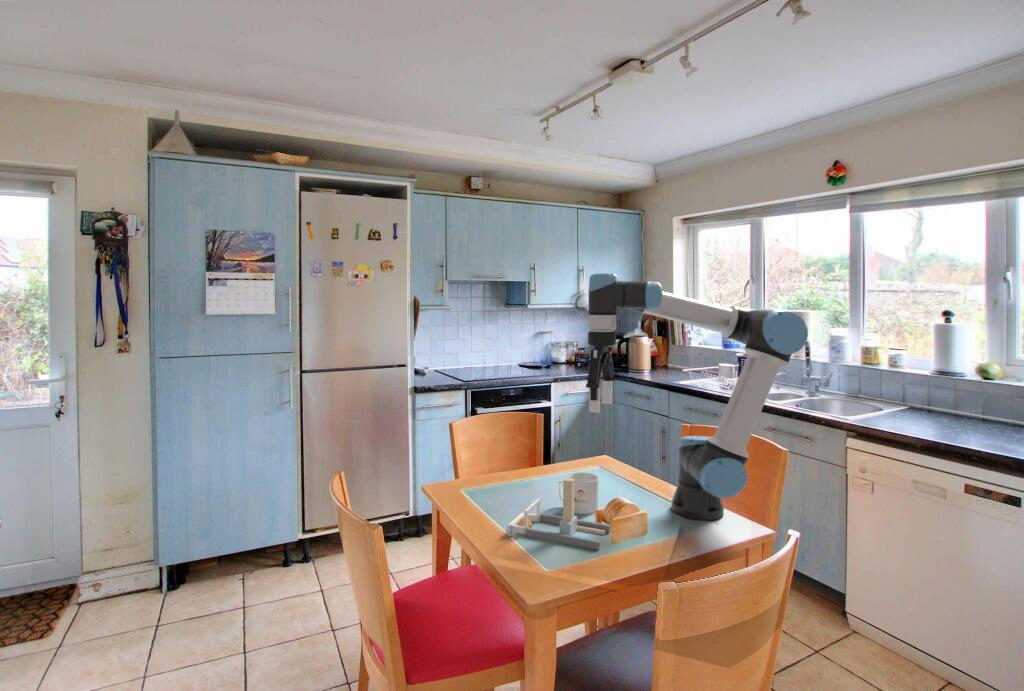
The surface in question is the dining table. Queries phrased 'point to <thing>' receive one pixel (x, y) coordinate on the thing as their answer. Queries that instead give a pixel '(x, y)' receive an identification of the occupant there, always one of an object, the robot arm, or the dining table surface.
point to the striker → (568, 508)
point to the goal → (514, 525)
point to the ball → (522, 522)
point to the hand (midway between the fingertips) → (600, 407)
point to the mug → (584, 492)
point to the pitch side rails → (568, 539)
